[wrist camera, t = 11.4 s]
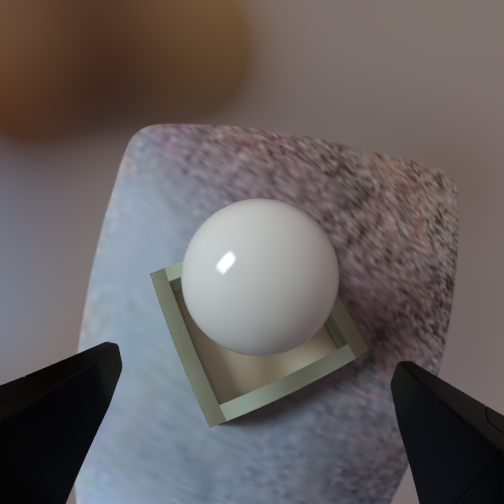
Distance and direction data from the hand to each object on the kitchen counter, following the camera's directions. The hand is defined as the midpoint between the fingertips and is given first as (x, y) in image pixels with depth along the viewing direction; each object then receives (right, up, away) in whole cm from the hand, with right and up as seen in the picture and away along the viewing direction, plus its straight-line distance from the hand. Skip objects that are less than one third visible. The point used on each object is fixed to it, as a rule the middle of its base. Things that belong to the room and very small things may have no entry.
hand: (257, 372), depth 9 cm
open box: (0, -1, +11) cm, 12 cm away
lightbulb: (0, -1, +11) cm, 11 cm away
